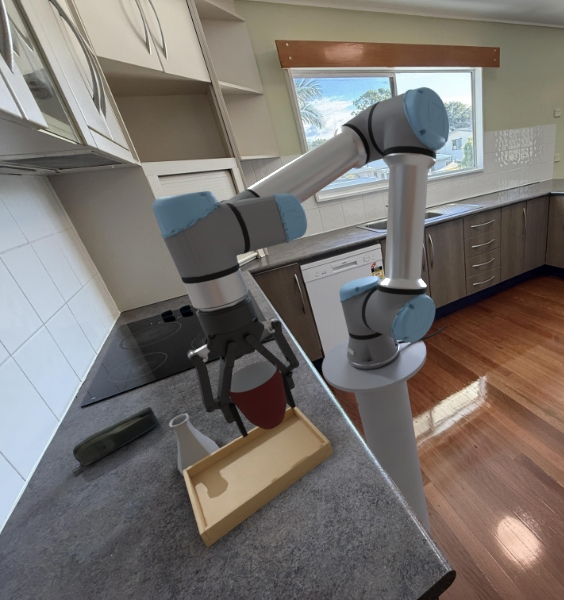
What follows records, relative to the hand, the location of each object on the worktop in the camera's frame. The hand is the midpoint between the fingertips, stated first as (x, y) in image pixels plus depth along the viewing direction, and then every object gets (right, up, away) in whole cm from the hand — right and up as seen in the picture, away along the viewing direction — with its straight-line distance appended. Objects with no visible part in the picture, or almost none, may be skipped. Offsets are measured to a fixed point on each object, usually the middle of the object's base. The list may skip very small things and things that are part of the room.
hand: (268, 417), depth 56 cm
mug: (0, 0, 0) cm, 0 cm away
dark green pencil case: (-37, -11, +12) cm, 40 cm away
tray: (-2, -10, +1) cm, 10 cm away
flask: (-15, -10, +5) cm, 19 cm away
